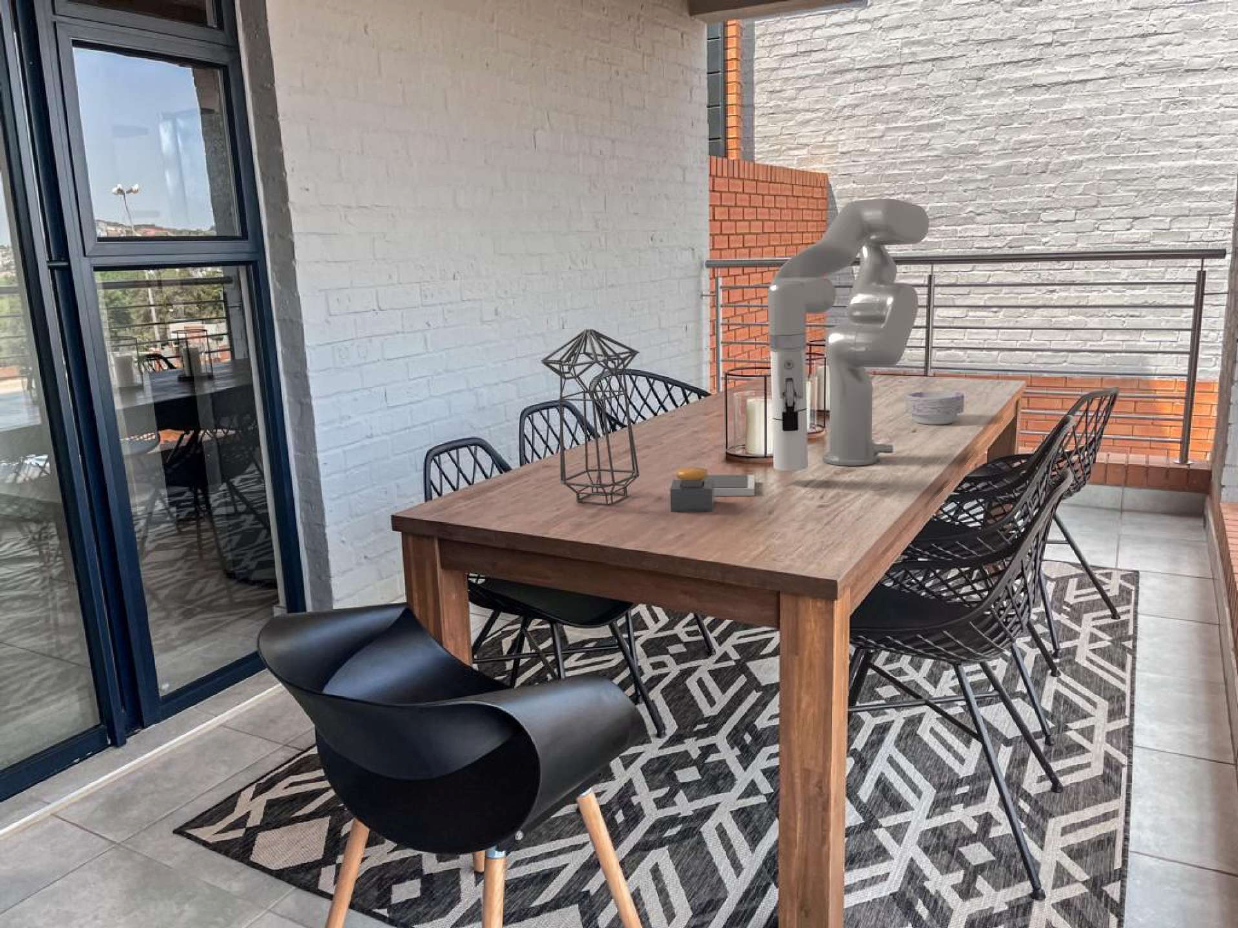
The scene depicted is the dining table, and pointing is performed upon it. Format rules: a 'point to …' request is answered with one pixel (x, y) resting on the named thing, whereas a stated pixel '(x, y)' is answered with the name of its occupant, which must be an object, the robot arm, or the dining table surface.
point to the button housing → (692, 497)
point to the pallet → (733, 485)
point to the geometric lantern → (579, 344)
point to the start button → (692, 476)
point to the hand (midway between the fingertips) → (789, 426)
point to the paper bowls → (934, 406)
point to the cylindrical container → (789, 444)
